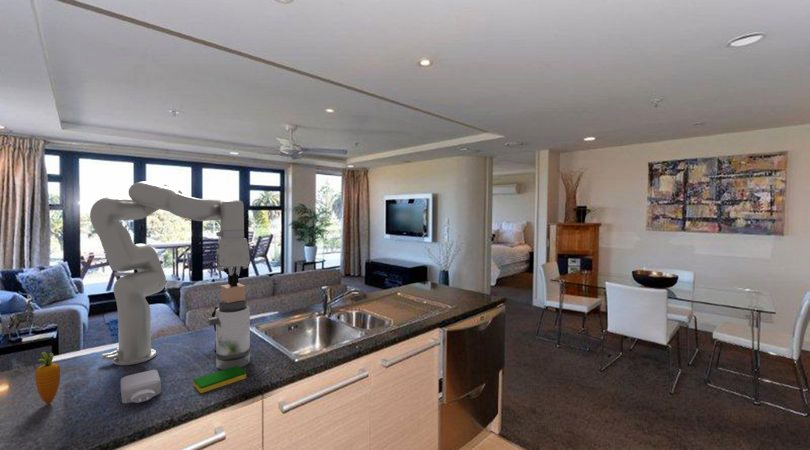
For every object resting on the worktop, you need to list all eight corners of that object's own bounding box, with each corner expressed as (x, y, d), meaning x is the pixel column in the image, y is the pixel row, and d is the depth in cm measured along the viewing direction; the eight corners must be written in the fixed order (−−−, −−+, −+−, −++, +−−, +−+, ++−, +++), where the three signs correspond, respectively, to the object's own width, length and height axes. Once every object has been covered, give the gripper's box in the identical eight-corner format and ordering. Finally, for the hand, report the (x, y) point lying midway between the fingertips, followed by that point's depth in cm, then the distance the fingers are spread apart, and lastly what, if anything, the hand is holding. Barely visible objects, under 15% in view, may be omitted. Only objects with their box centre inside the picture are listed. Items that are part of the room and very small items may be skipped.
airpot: (215, 375, 118) (214, 296, 117) (204, 364, 126) (203, 290, 125) (255, 363, 128) (255, 289, 127) (242, 353, 136) (242, 284, 134)
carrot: (62, 403, 100) (60, 352, 99) (36, 411, 96) (34, 357, 96) (60, 397, 103) (58, 347, 103) (35, 404, 100) (34, 352, 99)
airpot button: (227, 303, 122) (227, 288, 122) (220, 299, 127) (220, 285, 126) (245, 300, 127) (245, 285, 127) (238, 296, 131) (238, 283, 131)
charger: (123, 414, 96) (120, 392, 107) (163, 403, 102) (157, 382, 113) (122, 397, 96) (120, 377, 107) (163, 387, 102) (157, 368, 113)
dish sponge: (246, 379, 117) (246, 372, 117) (200, 394, 107) (200, 387, 107) (237, 372, 122) (237, 365, 122) (193, 386, 112) (193, 379, 112)
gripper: (213, 236, 118) (214, 290, 118) (257, 234, 128) (258, 284, 129) (205, 235, 123) (207, 287, 124) (249, 233, 134) (249, 281, 134)
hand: (233, 285), depth 126 cm, fingers closed
